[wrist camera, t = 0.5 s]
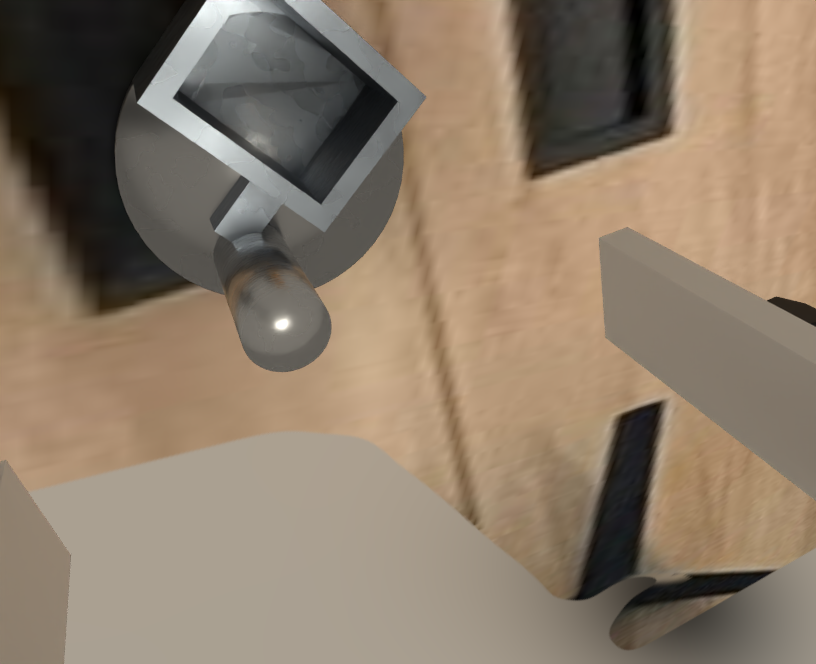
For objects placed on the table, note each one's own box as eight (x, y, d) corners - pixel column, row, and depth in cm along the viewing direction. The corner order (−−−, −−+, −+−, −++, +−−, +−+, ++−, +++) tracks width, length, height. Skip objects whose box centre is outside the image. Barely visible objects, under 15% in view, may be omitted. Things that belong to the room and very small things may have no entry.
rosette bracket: (54, 194, 36) (36, 278, 27) (227, -62, 33) (272, -67, 24) (292, 331, 44) (340, 431, 35) (444, 132, 41) (539, 183, 32)
